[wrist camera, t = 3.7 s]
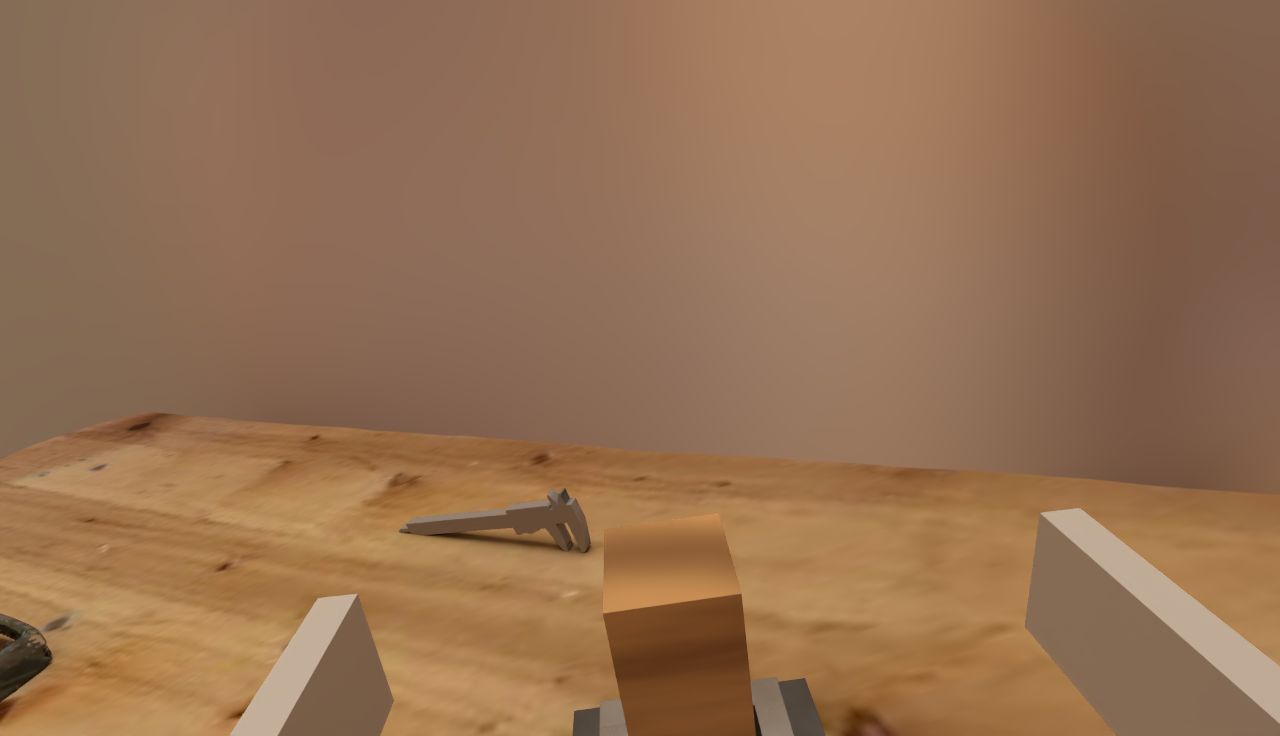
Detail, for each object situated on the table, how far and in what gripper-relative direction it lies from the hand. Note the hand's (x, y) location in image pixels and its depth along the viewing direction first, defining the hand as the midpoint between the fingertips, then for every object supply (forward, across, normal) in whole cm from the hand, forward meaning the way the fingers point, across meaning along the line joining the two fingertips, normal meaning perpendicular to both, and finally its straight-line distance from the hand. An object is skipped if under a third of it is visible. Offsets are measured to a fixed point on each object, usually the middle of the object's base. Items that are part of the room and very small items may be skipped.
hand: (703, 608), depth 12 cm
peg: (+11, 0, -23) cm, 25 cm away
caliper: (+39, -16, -25) cm, 50 cm away
